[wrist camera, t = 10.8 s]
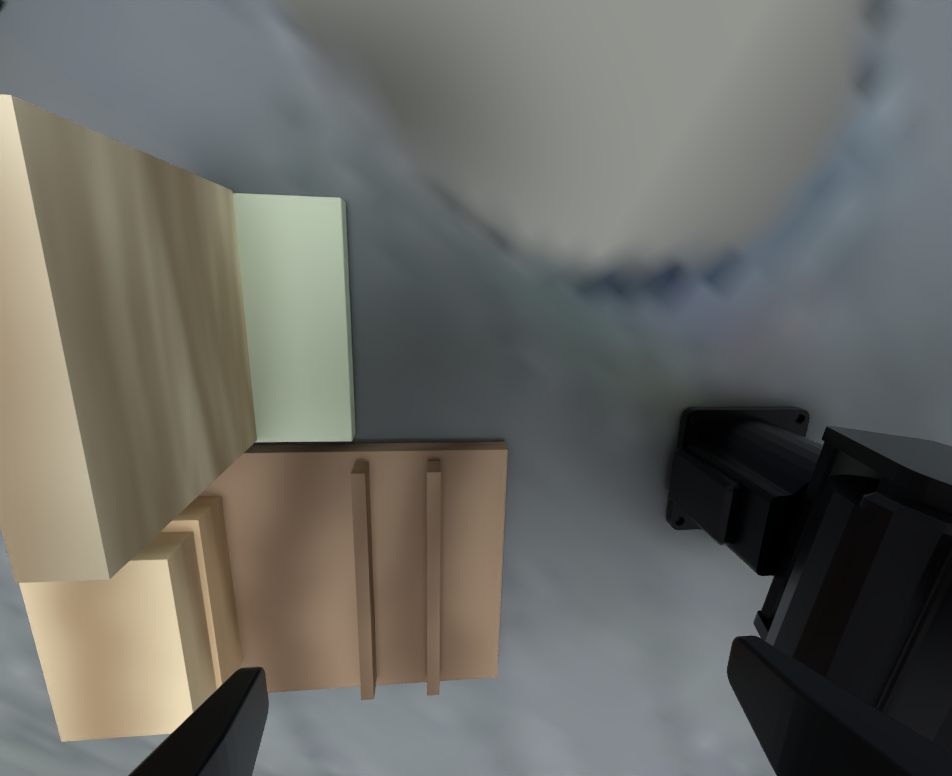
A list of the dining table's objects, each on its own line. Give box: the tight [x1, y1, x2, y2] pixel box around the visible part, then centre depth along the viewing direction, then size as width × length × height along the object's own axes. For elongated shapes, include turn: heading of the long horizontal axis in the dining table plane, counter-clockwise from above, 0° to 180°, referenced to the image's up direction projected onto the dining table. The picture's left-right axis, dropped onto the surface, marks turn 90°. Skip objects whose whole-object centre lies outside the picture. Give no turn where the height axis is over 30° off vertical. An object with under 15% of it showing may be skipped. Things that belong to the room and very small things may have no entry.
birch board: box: [0, 95, 257, 583], centre depth 13 cm, size 2×10×9 cm, turn 178°
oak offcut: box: [161, 496, 243, 689], centre depth 19 cm, size 6×9×2 cm, turn 178°
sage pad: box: [233, 193, 356, 442], centre depth 18 cm, size 10×10×1 cm
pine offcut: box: [19, 531, 217, 742], centre depth 17 cm, size 5×8×2 cm, turn 178°
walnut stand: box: [199, 442, 508, 700], centre depth 21 cm, size 20×13×2 cm, turn 88°
